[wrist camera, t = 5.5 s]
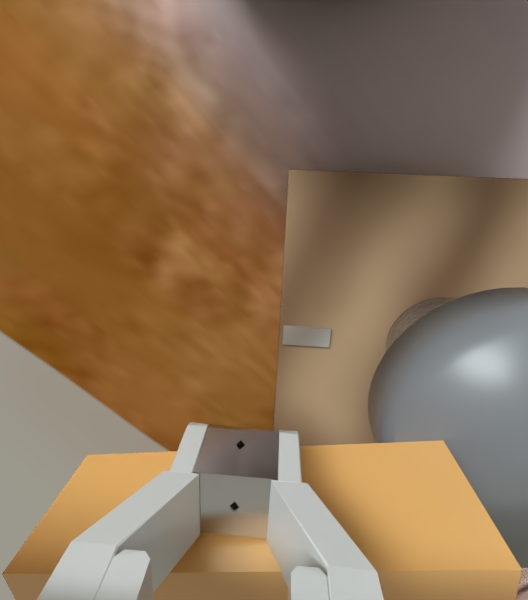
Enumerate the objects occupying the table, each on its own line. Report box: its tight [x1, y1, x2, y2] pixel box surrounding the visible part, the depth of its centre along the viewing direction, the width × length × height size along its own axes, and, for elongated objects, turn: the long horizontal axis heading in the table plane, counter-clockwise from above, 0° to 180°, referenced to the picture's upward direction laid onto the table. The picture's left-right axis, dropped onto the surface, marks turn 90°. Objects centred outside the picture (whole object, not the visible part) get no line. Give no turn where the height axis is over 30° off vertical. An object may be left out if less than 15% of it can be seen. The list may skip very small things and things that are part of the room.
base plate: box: [273, 170, 528, 446], centre depth 18 cm, size 16×16×2 cm
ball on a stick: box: [2, 287, 528, 600], centre depth 10 cm, size 18×9×6 cm, turn 96°
